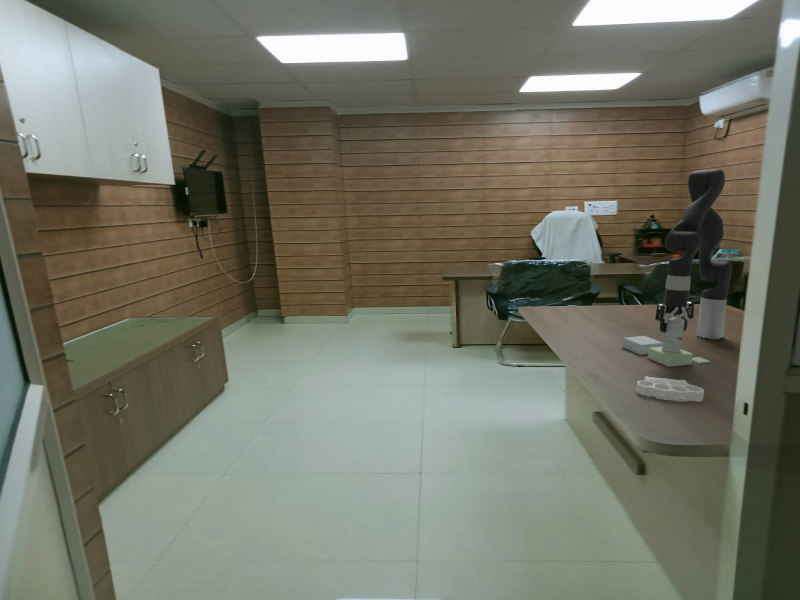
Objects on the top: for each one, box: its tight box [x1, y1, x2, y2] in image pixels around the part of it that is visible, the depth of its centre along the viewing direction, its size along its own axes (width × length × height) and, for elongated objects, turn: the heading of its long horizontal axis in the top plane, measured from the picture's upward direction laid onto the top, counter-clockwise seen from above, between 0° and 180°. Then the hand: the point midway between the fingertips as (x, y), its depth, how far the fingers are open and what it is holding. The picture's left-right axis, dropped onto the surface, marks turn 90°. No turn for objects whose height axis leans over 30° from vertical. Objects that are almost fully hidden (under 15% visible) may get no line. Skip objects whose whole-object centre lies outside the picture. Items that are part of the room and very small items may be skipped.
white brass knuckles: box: [635, 375, 705, 403], centre depth 143 cm, size 3×18×15 cm
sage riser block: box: [647, 347, 694, 368], centre depth 171 cm, size 10×10×4 cm
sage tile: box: [692, 356, 711, 365], centre depth 170 cm, size 5×5×1 cm
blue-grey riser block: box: [622, 335, 663, 356], centre depth 184 cm, size 10×10×4 cm
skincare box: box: [662, 317, 685, 353], centre depth 169 cm, size 6×4×12 cm
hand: (672, 331), depth 169 cm, fingers open, 8 cm apart
